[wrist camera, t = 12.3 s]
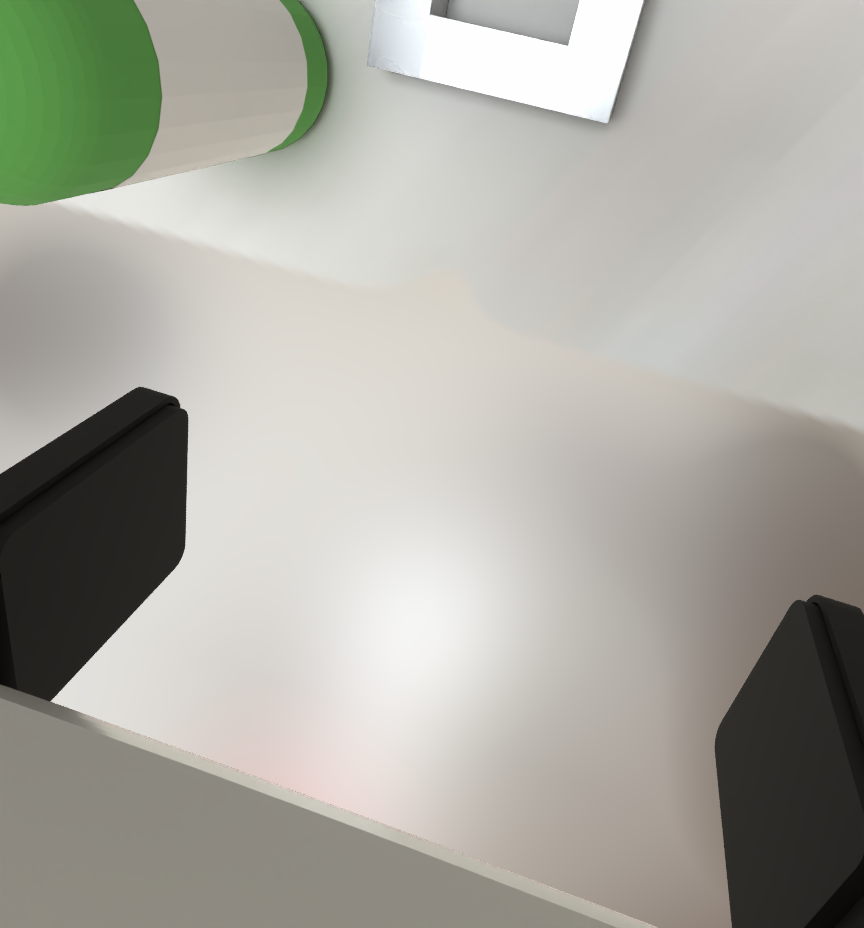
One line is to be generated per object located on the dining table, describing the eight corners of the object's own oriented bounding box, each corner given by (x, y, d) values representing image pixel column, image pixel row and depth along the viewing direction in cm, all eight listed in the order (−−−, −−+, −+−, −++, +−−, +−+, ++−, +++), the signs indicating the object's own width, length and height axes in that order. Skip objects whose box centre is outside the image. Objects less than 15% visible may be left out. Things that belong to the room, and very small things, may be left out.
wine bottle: (359, 26, 36) (-376, -68, 10) (305, 177, 40) (-315, 384, 14) (218, -55, 35) (-887, -359, 10) (179, 105, 40) (-675, 182, 14)
